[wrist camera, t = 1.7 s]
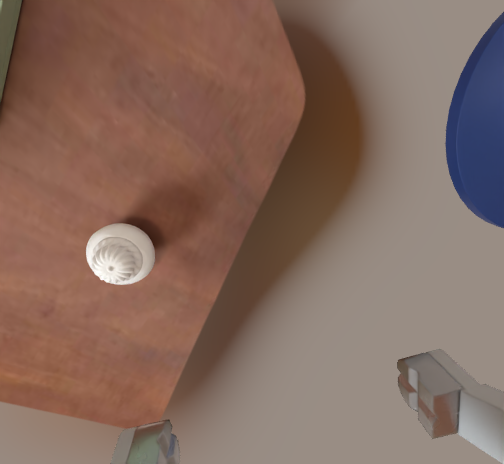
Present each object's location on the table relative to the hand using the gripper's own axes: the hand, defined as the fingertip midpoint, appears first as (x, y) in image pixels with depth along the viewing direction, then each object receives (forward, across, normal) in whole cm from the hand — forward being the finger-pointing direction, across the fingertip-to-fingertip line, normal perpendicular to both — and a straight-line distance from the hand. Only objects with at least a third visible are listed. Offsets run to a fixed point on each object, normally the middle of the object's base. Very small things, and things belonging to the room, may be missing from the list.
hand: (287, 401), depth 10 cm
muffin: (+23, +12, 0) cm, 26 cm away
